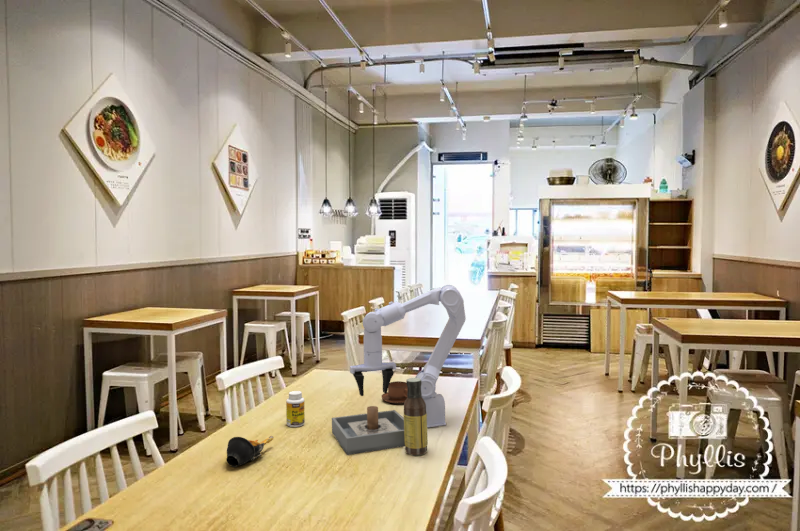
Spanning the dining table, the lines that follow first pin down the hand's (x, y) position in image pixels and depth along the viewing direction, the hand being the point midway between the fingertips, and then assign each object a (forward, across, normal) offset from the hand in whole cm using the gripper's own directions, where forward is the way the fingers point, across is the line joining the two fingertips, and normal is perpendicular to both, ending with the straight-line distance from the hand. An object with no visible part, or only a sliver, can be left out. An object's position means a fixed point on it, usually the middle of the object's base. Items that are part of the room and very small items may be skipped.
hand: (373, 393), depth 167 cm
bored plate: (+9, +4, +12) cm, 16 cm away
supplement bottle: (+10, +23, -8) cm, 26 cm away
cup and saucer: (+10, -16, -20) cm, 27 cm away
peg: (+8, +4, +12) cm, 15 cm away
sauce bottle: (+10, -4, +26) cm, 28 cm away
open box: (+9, +4, +12) cm, 16 cm away
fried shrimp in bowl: (+10, +38, +14) cm, 42 cm away
